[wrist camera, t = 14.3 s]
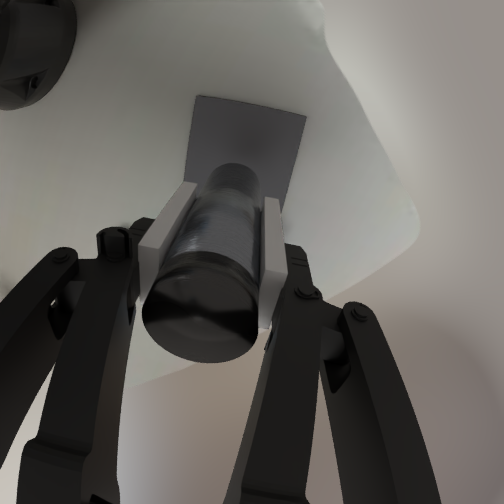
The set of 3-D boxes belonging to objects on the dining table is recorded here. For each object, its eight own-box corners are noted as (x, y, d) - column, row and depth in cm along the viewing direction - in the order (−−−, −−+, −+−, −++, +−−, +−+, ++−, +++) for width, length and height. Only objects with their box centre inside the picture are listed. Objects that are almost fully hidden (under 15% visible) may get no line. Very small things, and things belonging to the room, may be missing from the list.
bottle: (202, 209, 20) (145, 350, 9) (210, 158, 18) (139, 268, 7) (254, 219, 20) (245, 370, 10) (266, 168, 18) (271, 294, 8)
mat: (197, 95, 23) (196, 95, 23) (306, 116, 24) (306, 116, 24) (182, 194, 29) (181, 195, 28) (280, 212, 29) (280, 214, 29)
